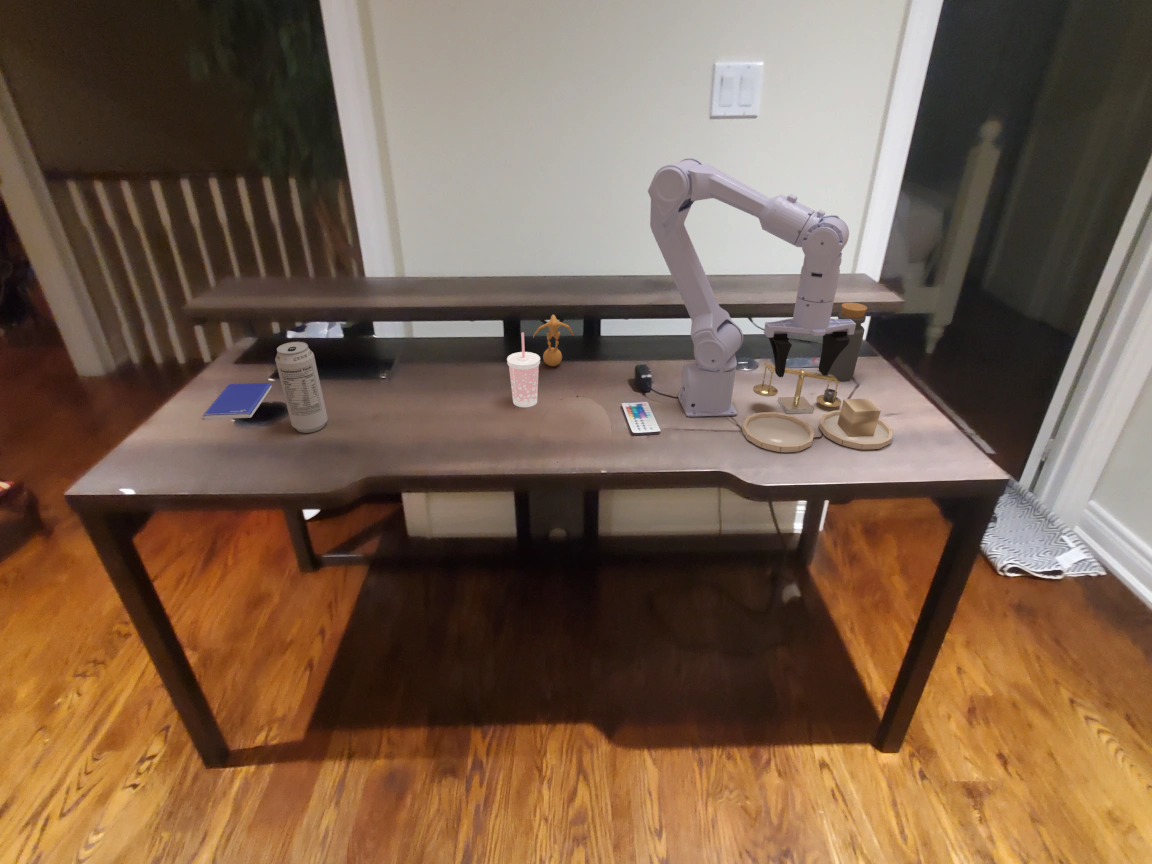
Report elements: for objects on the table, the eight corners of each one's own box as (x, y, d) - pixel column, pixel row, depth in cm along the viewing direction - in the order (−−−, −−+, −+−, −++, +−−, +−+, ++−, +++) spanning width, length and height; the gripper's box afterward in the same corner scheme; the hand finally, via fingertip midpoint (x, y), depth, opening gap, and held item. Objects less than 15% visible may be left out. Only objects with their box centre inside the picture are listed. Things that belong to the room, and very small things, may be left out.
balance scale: (755, 414, 118) (762, 372, 114) (746, 401, 122) (753, 360, 118) (844, 411, 119) (855, 369, 115) (833, 399, 123) (843, 358, 119)
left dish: (754, 454, 106) (755, 447, 106) (734, 419, 116) (735, 413, 116) (823, 452, 107) (824, 445, 106) (797, 417, 117) (798, 411, 117)
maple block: (848, 436, 110) (855, 411, 108) (837, 423, 114) (843, 399, 112) (873, 436, 111) (880, 410, 108) (861, 423, 114) (868, 398, 112)
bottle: (854, 382, 130) (872, 312, 122) (824, 380, 131) (840, 310, 123) (850, 370, 135) (867, 302, 127) (821, 368, 136) (836, 300, 128)
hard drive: (249, 412, 115) (270, 382, 126) (202, 414, 114) (227, 383, 125) (251, 420, 116) (272, 389, 126) (204, 422, 115) (229, 390, 126)
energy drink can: (331, 416, 116) (314, 339, 109) (325, 432, 111) (308, 353, 103) (296, 418, 115) (277, 341, 108) (289, 435, 110) (268, 355, 103)
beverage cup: (547, 401, 122) (546, 332, 115) (524, 412, 118) (521, 342, 111) (525, 391, 125) (523, 323, 118) (502, 401, 122) (498, 332, 114)
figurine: (570, 360, 138) (570, 307, 132) (574, 372, 133) (575, 317, 127) (532, 362, 137) (530, 309, 131) (535, 374, 132) (533, 319, 126)
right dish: (836, 451, 107) (837, 445, 107) (809, 417, 117) (810, 411, 117) (903, 449, 108) (905, 442, 107) (871, 415, 118) (872, 409, 117)
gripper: (779, 306, 98) (767, 385, 105) (871, 303, 99) (852, 382, 106) (764, 292, 104) (753, 368, 111) (850, 289, 105) (834, 365, 112)
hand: (801, 374), depth 109 cm, fingers open, 7 cm apart
